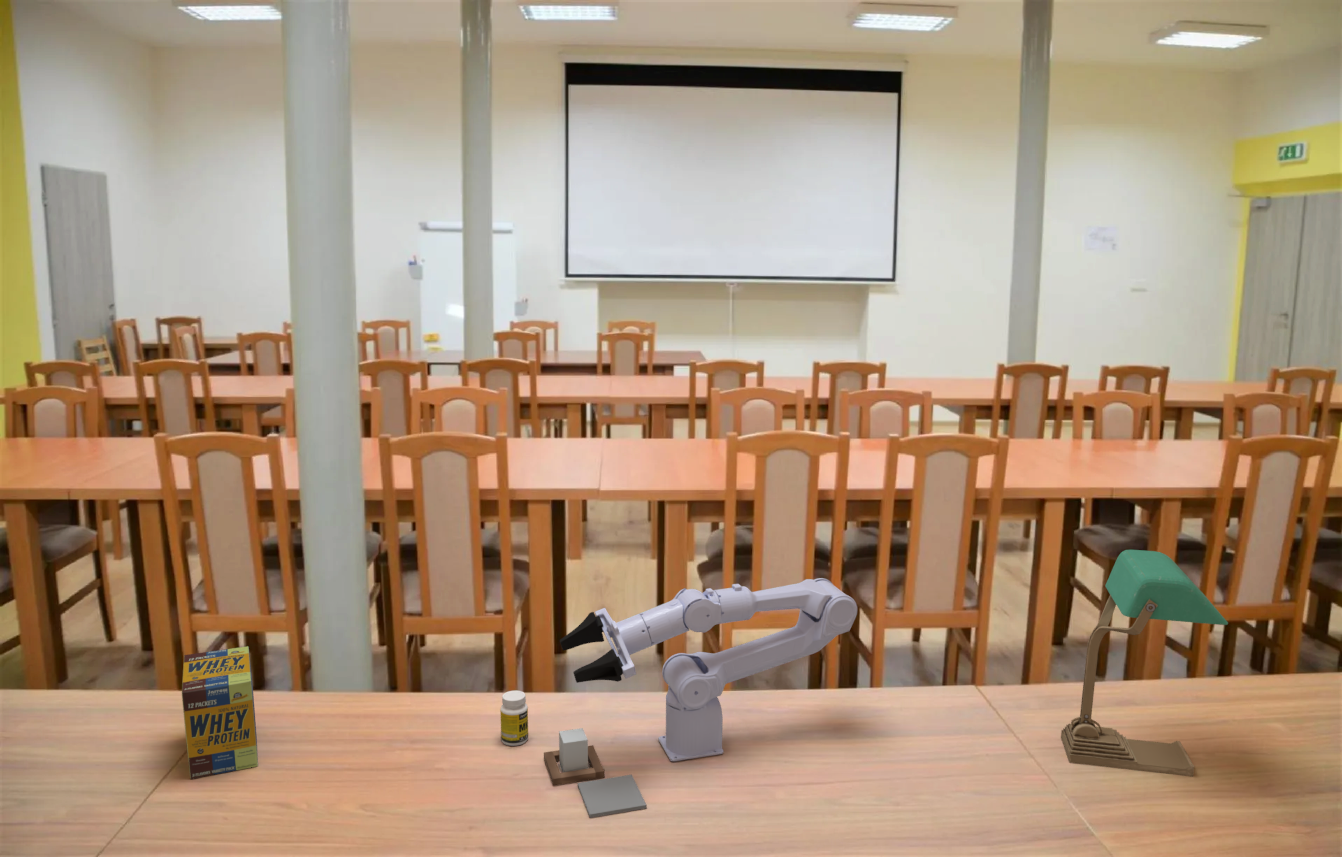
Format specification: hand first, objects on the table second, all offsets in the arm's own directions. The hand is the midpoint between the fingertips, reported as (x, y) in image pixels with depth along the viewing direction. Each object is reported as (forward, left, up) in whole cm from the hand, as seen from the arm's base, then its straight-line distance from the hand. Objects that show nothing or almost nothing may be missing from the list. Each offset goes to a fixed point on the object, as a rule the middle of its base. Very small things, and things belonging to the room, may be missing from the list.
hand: (567, 661), depth 163 cm
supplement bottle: (+7, -11, -19) cm, 23 cm away
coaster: (-5, +11, -19) cm, 22 cm away
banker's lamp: (-93, +24, -19) cm, 97 cm away
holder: (-1, +1, -19) cm, 19 cm away
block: (-1, +1, -19) cm, 19 cm away
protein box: (+55, -21, -19) cm, 62 cm away
